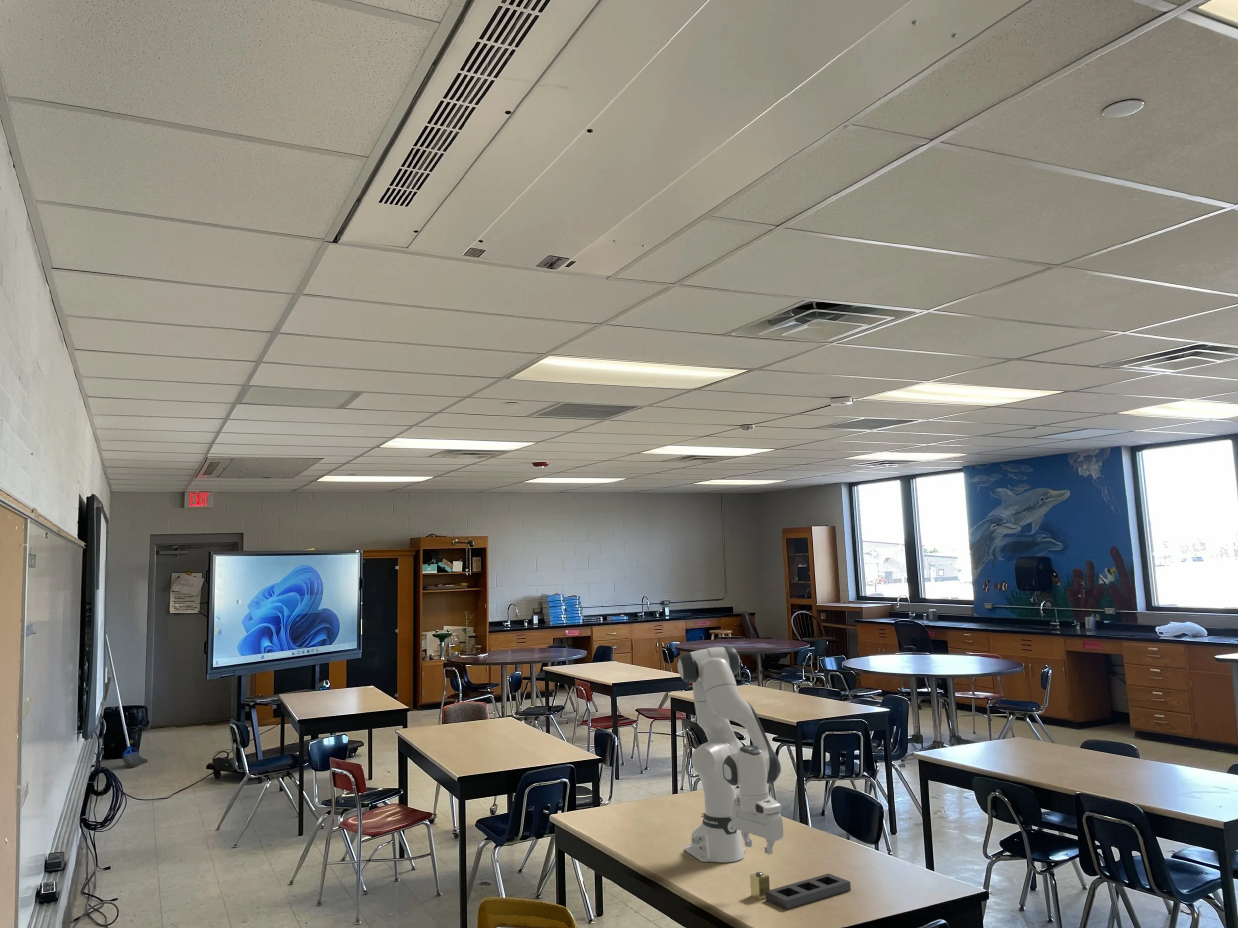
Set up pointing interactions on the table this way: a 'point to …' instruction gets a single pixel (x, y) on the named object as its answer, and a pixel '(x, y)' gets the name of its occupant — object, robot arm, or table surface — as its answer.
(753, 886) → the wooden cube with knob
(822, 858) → the table surface
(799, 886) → the grey flat slotted block
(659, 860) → the table surface
